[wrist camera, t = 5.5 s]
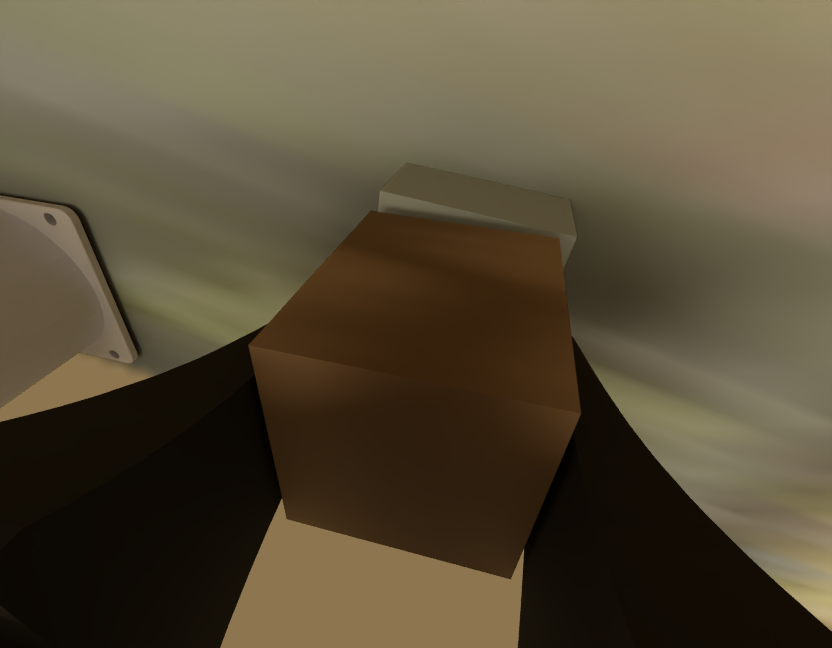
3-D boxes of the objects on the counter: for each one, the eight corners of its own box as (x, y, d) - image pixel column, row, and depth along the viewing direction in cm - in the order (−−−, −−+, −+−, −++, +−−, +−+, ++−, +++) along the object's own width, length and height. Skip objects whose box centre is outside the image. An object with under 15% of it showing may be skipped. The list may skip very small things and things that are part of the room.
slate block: (390, 294, 16) (365, 341, 14) (408, 160, 13) (380, 190, 11) (519, 327, 16) (516, 381, 13) (568, 197, 13) (577, 236, 10)
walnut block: (371, 352, 13) (287, 519, 8) (371, 210, 10) (248, 345, 6) (519, 381, 12) (511, 579, 8) (559, 238, 10) (581, 413, 5)
